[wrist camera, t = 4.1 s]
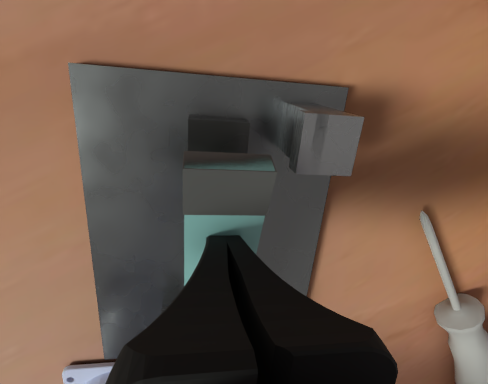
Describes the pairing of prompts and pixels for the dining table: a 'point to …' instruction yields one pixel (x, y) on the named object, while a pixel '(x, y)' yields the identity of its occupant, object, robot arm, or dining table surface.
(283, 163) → the plate
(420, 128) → the dining table surface
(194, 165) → the teal rectangular bar
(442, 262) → the screwdriver
